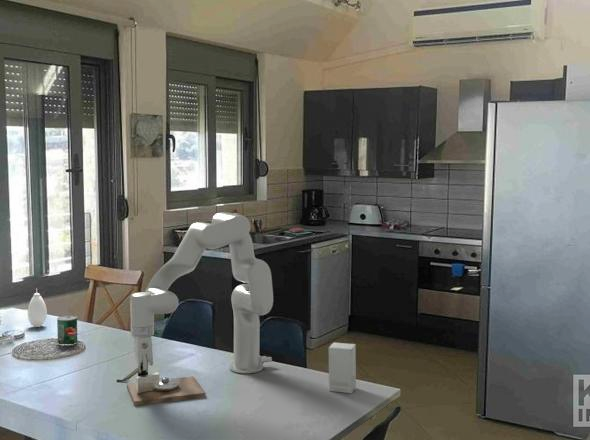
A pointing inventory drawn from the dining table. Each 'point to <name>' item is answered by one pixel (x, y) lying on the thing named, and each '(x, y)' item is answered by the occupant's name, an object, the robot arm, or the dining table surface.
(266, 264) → the robot arm
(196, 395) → the dial plate
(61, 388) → the dining table surface
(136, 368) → the tan handled tool
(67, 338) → the canned tomato
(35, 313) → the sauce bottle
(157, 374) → the dial
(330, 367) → the skincare box
